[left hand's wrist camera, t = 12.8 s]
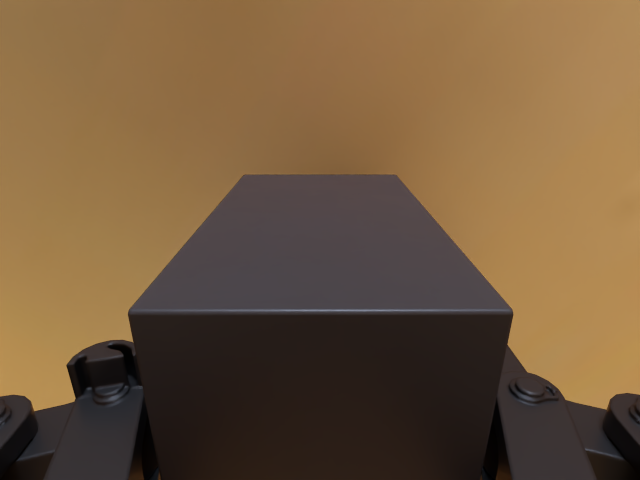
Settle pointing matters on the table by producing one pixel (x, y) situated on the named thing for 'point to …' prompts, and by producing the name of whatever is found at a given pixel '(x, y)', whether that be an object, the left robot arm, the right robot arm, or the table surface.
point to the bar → (320, 339)
